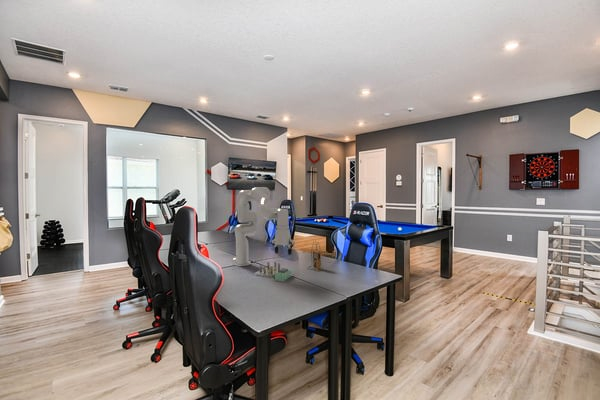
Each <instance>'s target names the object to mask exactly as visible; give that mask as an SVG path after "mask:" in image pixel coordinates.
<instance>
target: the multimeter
mask: <svg viewBox="0 0 600 400" xmlns="http://www.w3.org/2000/svg"><path fill="white" fill-rule="evenodd" d="M313 243H316V245H315V246H316V247H315V250H313V249H312V250H311V253H310V254H311V258H312V265H310V266H309V268H310V267H312V270H313V271H316V272H317V271H320V270H321V269H322V270H321V272H323V270H324V267H323V265H322V261H321V260H322V258H321V257H322V255H321V253H322V252H321V250H318V247H319V248H321V246H320V245H319V244H320V242H317V241H313ZM313 247H314V244H312V246H311V248H313ZM315 269H316V270H315Z"/></svg>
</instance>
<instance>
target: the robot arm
mask: <svg viewBox="0 0 600 400" xmlns="http://www.w3.org/2000/svg"><path fill="white" fill-rule="evenodd" d="M270 197H271V190H270V189H269V188H268V187H266V186H261V187H260V186H257V187H256V186H255V187H254V188H252V189H245V190H244V189H242V190H240V191H239V192H238V193H237V202H238V203H237V204H238V205H237V206H238V207H237V222H239V223H240V224H237V225H236V226H235V227H234V231H233V232H234V236H235V257H234V258H233V259H232V261H233V262H234V264H233V265H234V266H236V267H245V266H246V267H247V266H250V265H251V264H252V263H251V261H249V260H250V259H249V240H248V239H247V236H254V235H255V234H256V233H257V229H258V213H257V211H256V210H253V209H250V203H249V202H256V203H257V204H258V211H259V214H260V215H261V217H262V218H264V219H265V220H267V221H269V220H270V221H271V220H276V225H275V228H276V229H275V231H274V232H275V233H274V239H272V240H270V242H271V244H272V246H273V248H274V254H278V253H279V246H282V247H283V246H284V247H285V246H287V247H288V248H287V255H289V256H290V255H292V253H293V250H292V248H293V247H294V246H295V244H296V241H295V240H293V239H291V232H290V228H289V224H290V222H289V210H288V208H279V207H275V208H271V207H270V208H268V206H269V205H270V203H271V198H270Z"/></svg>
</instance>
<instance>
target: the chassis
mask: <svg viewBox="0 0 600 400" xmlns="http://www.w3.org/2000/svg"><path fill="white" fill-rule="evenodd" d="M273 264H274V267H273V266H272V265H271V266H270V261H268V262H267V264H266V265H267V267H266V266H263V265H262V264H261V265H259V270H258V271H256V272H254V275H255V276H261V277H269V278H273V277H275V273H276V272H278V271H279V270H281V269H282V268H283V267H281V263H277V261H274V263H273Z"/></svg>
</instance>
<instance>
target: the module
mask: <svg viewBox="0 0 600 400" xmlns="http://www.w3.org/2000/svg"><path fill="white" fill-rule="evenodd" d="M281 268H282V269H281V270H279V271H278V272H276V273H275V276H274V281H277V282H278V281H279V282H285V281H286V280H288V279H289V278H291V277H292V269H291V268H284V267H281Z"/></svg>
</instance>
